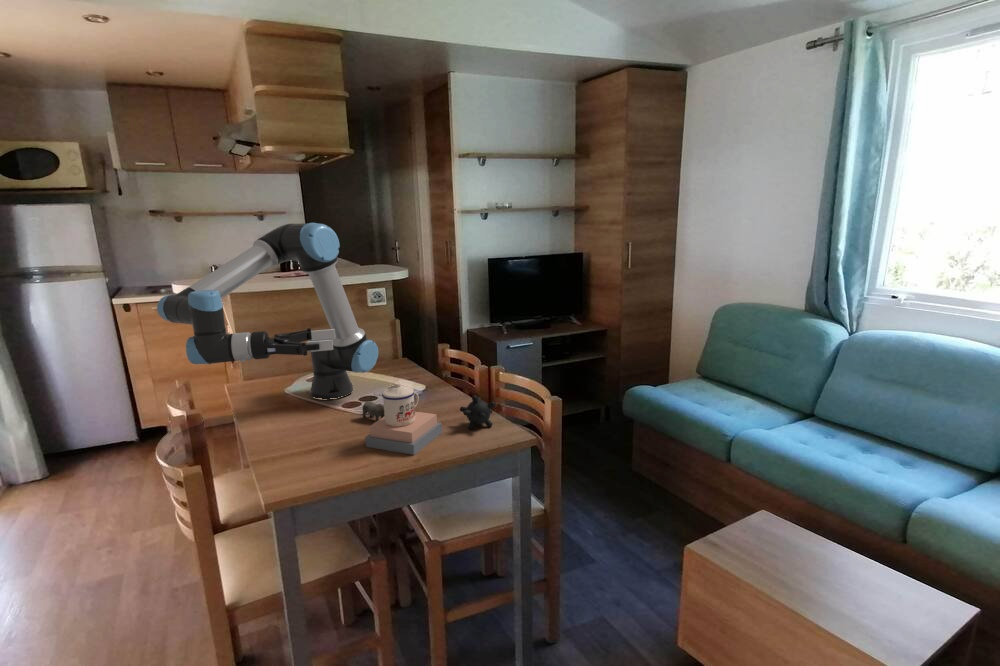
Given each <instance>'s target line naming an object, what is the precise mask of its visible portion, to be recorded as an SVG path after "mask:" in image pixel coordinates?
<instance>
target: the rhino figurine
mask: <svg viewBox="0 0 1000 666" xmlns="http://www.w3.org/2000/svg"><path fill="white" fill-rule="evenodd" d="M366 414H368V415H369V418H371V419H374V418H375V419H374V423H375V422H377V421H378V420H380V419H382V418H383V417H385V414H384V404H382V403H378V404H377V403H375V402H373V401H366V402H364V404H363V405H362V417H361V419H362V420H367V416H366ZM379 417H380V419H379Z"/></svg>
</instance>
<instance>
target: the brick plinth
mask: <svg viewBox="0 0 1000 666" xmlns="http://www.w3.org/2000/svg"><path fill="white" fill-rule="evenodd" d="M437 416H438V414H437V413H436V414H435V413H429V412H421V411H415V421H414V422H413V423H411V424H409V425H406V426H400V427H393V426H389V425H387V424H386V423H385V417H383V418H382V419H381V418H380V419H378V421H377V422H375V421H374V422H373V423H372V424H371V425H369V426H368V427H369V428H368V429H369V434H367V435H366V436H365V437H364V439H365V440H364V441H365V447H366V448H371V449H377V450H383V451H388V452H394V453H399V454H406V455H412V456H415V455H417V454H418V453H419V452H420V451H421V450H423V449H424V448H425V447H426V446H428V444H430V443H431V442H433V440H435V439H436V438H437V437H438V436H440V435H441V434H442V433H443V424H442V422H439V421H438V419H437V418H438V417H437Z"/></svg>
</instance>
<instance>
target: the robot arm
mask: <svg viewBox="0 0 1000 666" xmlns="http://www.w3.org/2000/svg"><path fill="white" fill-rule="evenodd" d="M340 246H341V245H340V241H339V238H338V235H337V233H336V232H335V230H334V229H332V227H330V226H328V225H327V224H325V223H319V222H318V223H316V222H309V223H307V222H306V223H305V222H303V223H286V224H283V225H280V226H278V227H276V228H275V229H272V230H271V231H269V232H267V233H265V234H264V235H262V236H260V237H258V239H256V240H255V241H253V243H252V246H251V247H250V248H248V249H246V250H245V251H243V252H242V253H240V254H238V255H237V256H236V257H234V258H232V259H230V260H229V261H228V262H226V263H224V264H223V265H221V266H220V267H218V268H216V269H215V270H213V271H212V272H209V274H207V275H205V276H204V277H202V278H200V279H199V280H197V281H196V282H194V283H193V284H191V285H190V286H187V287H186V288H185V289H183V290H181V291H180V292H178V293H175V294H166V295H164V296H163V297H161V298H160V299H159V300H158V303H157V306H156V310H157V313H158V315H159V317H160V318H161V319H163V320H164V321H167V322H171V323H173V324H185V325H191V326H192V329H193V335H194V336H190V337H188V338H187V339H186V343H185V347H186V349H185V352H186V353H185V354H186V357H187V360H188V362H190V363H191V364H193V365H211V364H213V365H214V364H219V363H220V364H221V363H229V362H239V361H240V363H245V362H246V361H249V360H252V359H255V360H264V359H269V357H270V356H271V355H286V356H287V355H293V356H295V355H296V356H304V357H305V356H308V353H310V356H311V365H312V366H311V367H312V371H313V377H312V381H311V387H310V397H311V396H312V397H315V398H322V399H330V398H338V397H341V396H345V395H347V394H349V393H351V392H352V391H353V392H354V385H353V383H352V382H351V380H350V377H349V374H348V372H351V373H356V374H359V373H360V374H363V373H364V374H365V373H368V372H370V371H371V370H372V369H373V368H374V367H375V365H376V363H377V361H378V358H379V348H378V345H377V344H376V342H375V341H373V340H371V339H368V337H367V335H366V332H365V330H364V329H363V328H361V327H359V326H358V324H357V321H356V317H355V315H354V312H353V309H352V308H351V304H350V302H349V300H348V296H347V294H346V292H345V289H344V286H343V284H342V281H341V278H340V275H339V273H338V270H337V267H336V265H337V263H338V261H339V258H338V255H339V253H340V250H339V249H340ZM289 261H294V262H295V261H297V263H298V264H299V266H300V267H299V268H300V269H301V272H303V273H304V274H307V275H308V276H309V279H310V281H311V283H312V285H313V288H314V291H315V293H316V295H317V298H318V301H319V302H320V305H321V307H322V310H323V313H324V315H325V318H326V320H327V323H328V325H329V327H330V329H319V330H312V328H311V327H307V328H306V329H305V330H304V329H303V330H298V331H293V332H292V331H290V332H284V333H278V334H277V333H276V334H274V335H273V336H274V337H269V334H268V332H267V331H265V330H261V331H252V332H251V333H250V332H249V331H248V332H234V333H227V327H226V321H225V314H224V313H225V312H224V304H223V301H222V299H223V298H224V297H226V296H228V295H230V293H232V292H233V291H235V290H236V289H238V288H239V287H241V286H243V285H244V284H245V283H247V282H248V281H249V280H251V279H253V278H254V277H256V276H257V275H259V274H260V273H261V272H264V271H265V270H266V269H268V268H275V267H277V266H278V265H280V264H282V263H284V262H285V263H286V262H289ZM312 397H311V398H312Z"/></svg>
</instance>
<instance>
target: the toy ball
mask: <svg viewBox="0 0 1000 666" xmlns="http://www.w3.org/2000/svg"><path fill="white" fill-rule="evenodd" d="M471 400H472V401H471V402H469V403H468V405H467V406H460V407H459V411H460V412H461V413H463V414H462V415H464V416H466V418H467V420H468V421H469V423H468V424H467V429H468V430H470V431H471V430H473V428H474V427H475V425H481V426H482V425H483V424H485V425H486V426H487V427H488V428H491V427H492V426H493V423H492V421H491V420H490V417H491V414H493V409H492V408H494V407H495V406H496V402H495V401H491V402H489V403H487V402H486V401H485V400H482V399H481V397H480V396H477V395H474V394H473V395H472V397H471Z"/></svg>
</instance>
